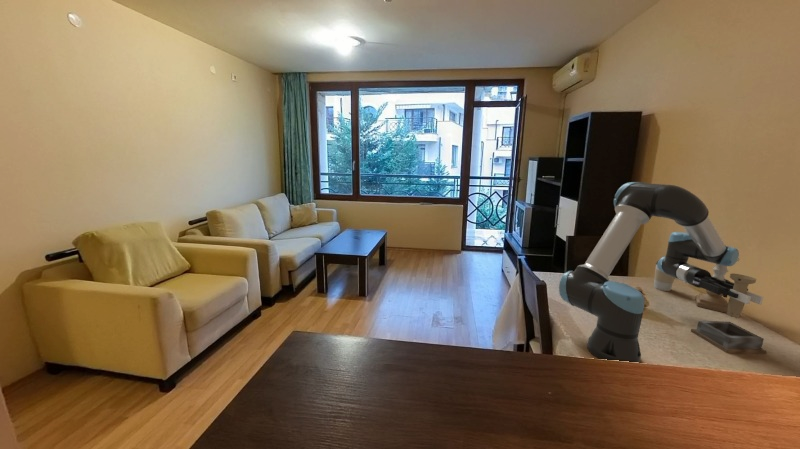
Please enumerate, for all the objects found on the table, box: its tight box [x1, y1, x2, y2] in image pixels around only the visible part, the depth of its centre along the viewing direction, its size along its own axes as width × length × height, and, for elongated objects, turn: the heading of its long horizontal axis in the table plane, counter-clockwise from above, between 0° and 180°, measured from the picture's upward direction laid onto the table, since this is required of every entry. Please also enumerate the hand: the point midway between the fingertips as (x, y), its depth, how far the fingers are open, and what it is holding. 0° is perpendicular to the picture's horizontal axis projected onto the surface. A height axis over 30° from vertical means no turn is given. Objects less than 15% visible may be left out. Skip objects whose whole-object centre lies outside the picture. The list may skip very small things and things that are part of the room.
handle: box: [726, 272, 757, 319], centre depth 117 cm, size 5×6×15 cm
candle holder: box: [695, 257, 740, 314], centre depth 149 cm, size 11×11×24 cm
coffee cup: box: [653, 260, 676, 292], centre depth 169 cm, size 9×9×15 cm
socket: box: [690, 320, 767, 354], centre depth 120 cm, size 14×14×5 cm
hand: (755, 300), depth 112 cm, fingers closed on handle, 3 cm apart
